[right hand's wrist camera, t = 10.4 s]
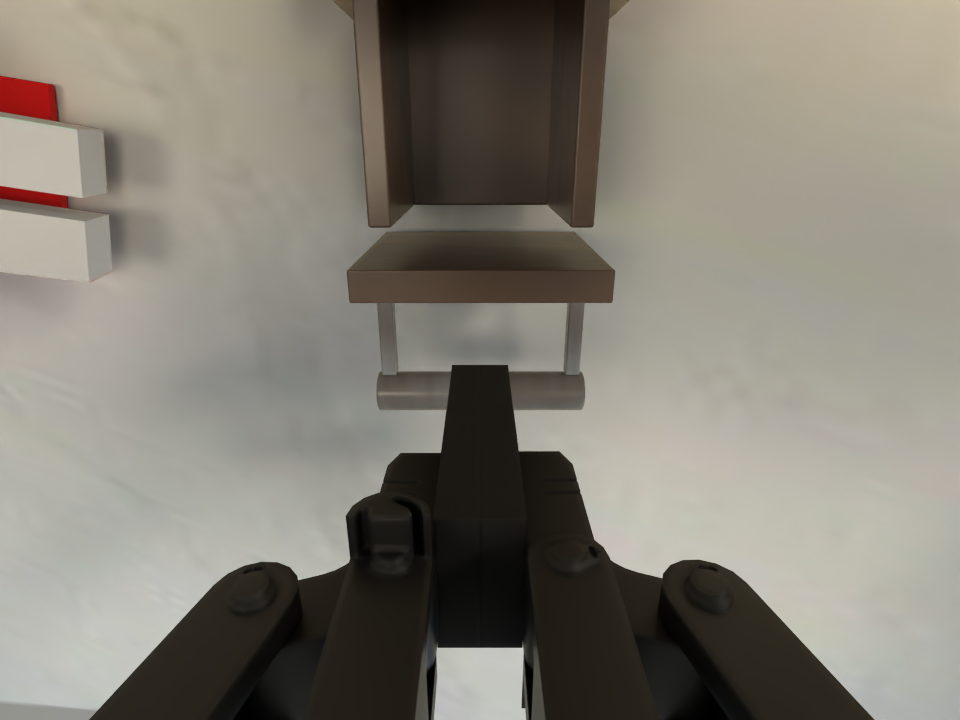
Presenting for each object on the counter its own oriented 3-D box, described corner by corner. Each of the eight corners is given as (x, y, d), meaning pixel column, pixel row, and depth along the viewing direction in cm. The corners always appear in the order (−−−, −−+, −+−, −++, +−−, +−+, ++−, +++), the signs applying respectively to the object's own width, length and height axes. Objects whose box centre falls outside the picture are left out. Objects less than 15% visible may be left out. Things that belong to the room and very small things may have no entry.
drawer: (567, 355, 30) (600, 436, 22) (393, 355, 30) (361, 436, 22) (596, -118, 22) (665, -271, 14) (364, -118, 22) (297, -271, 14)
